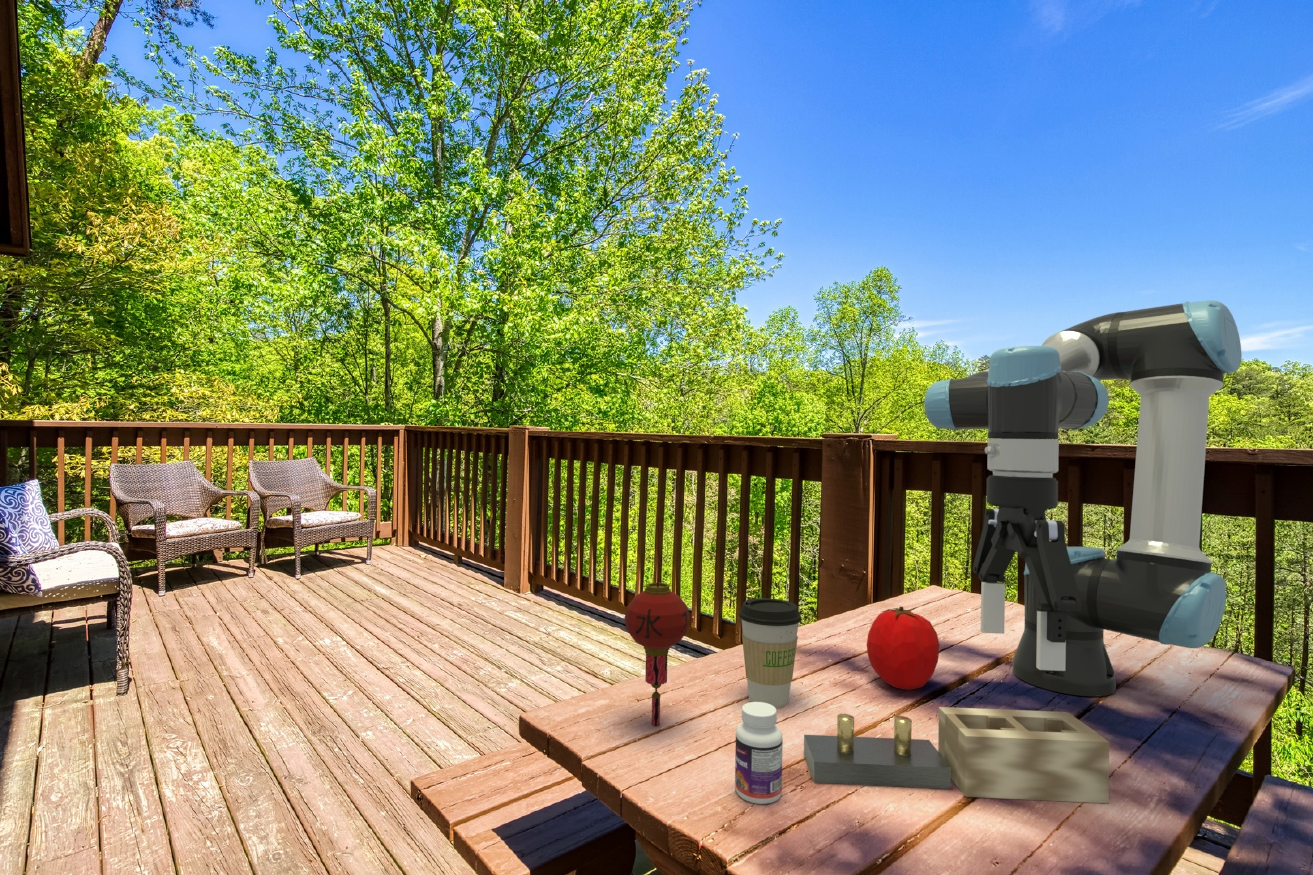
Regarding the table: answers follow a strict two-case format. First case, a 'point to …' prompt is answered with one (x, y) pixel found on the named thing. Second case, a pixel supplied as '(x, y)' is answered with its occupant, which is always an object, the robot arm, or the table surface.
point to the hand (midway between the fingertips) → (1018, 649)
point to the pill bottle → (758, 754)
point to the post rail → (876, 758)
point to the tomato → (903, 648)
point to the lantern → (657, 630)
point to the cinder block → (1024, 755)
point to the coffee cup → (769, 648)
